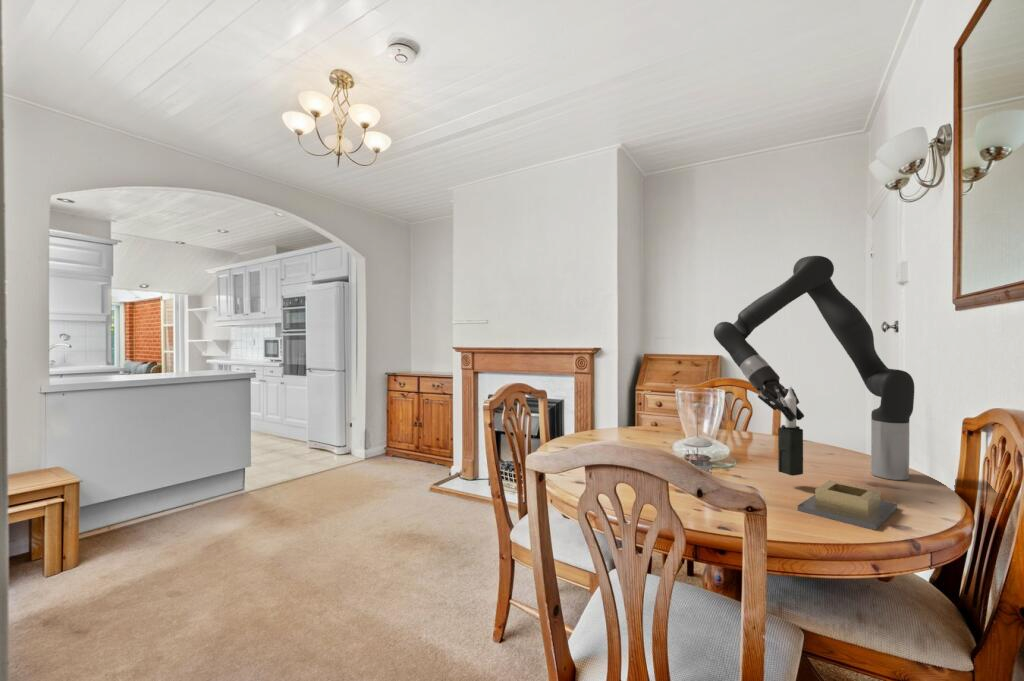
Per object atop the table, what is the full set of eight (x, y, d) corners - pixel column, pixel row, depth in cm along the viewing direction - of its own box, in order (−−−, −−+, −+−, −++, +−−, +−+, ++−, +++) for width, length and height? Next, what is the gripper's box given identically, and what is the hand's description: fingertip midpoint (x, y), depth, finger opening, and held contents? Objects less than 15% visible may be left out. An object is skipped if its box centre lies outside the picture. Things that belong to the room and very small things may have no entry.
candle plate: (824, 492, 132) (824, 474, 132) (897, 508, 120) (897, 489, 120) (797, 510, 119) (797, 490, 119) (875, 530, 107) (875, 508, 107)
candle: (805, 473, 136) (804, 386, 135) (792, 476, 134) (792, 388, 133) (788, 469, 140) (788, 385, 140) (776, 471, 139) (776, 386, 138)
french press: (721, 490, 134) (721, 403, 134) (704, 501, 126) (704, 407, 126) (688, 483, 141) (688, 399, 141) (669, 492, 133) (669, 404, 133)
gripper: (750, 366, 140) (790, 413, 129) (782, 363, 146) (822, 409, 135) (735, 382, 145) (772, 429, 134) (766, 379, 151) (804, 424, 140)
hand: (797, 418), depth 135 cm, fingers closed on candle, 3 cm apart
